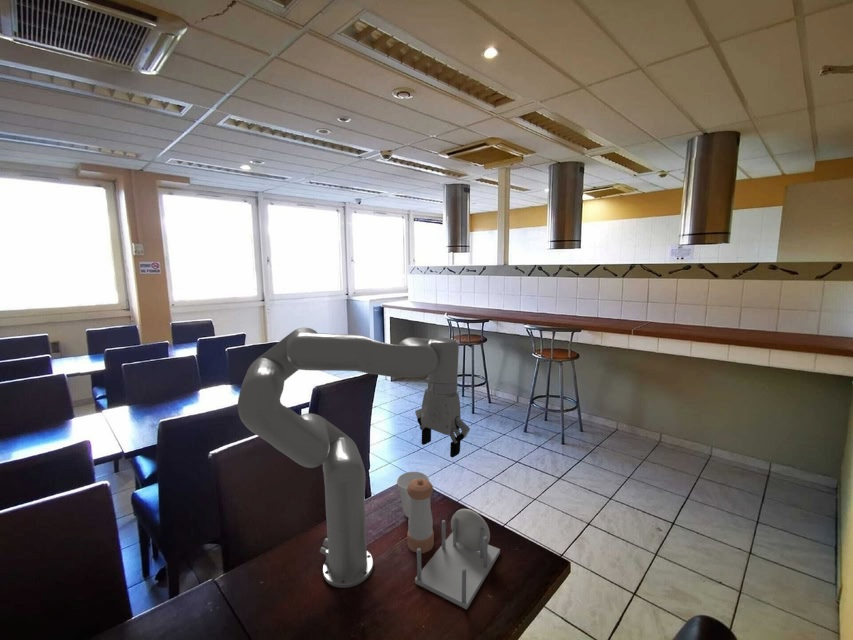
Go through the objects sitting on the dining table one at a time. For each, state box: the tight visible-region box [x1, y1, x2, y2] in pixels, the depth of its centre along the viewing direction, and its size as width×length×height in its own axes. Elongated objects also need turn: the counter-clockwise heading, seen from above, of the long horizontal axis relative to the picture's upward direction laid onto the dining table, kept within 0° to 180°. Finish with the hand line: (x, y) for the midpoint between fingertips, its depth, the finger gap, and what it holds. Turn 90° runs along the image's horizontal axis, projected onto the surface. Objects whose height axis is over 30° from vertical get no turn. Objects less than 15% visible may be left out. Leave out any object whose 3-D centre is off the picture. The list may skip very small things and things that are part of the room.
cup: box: [396, 471, 430, 519], centre depth 122 cm, size 10×10×11 cm
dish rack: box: [414, 508, 501, 610], centre depth 100 cm, size 14×20×12 cm
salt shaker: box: [406, 479, 435, 554], centre depth 108 cm, size 7×7×19 cm
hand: (440, 449), depth 105 cm, fingers open, 9 cm apart
